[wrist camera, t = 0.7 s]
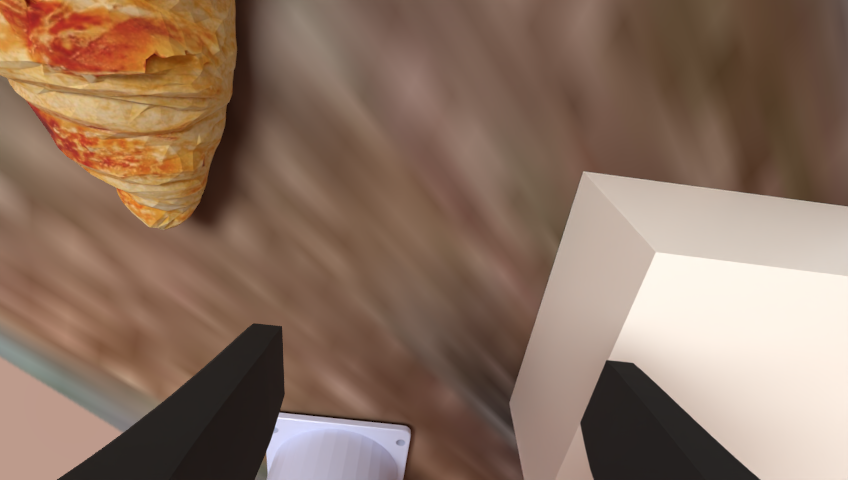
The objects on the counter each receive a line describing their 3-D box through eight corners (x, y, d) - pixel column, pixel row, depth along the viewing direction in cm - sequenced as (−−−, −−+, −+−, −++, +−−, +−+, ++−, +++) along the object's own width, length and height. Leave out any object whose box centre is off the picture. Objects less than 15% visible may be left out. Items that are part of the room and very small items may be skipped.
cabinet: (822, 440, 25) (939, 570, 19) (507, 407, 24) (531, 532, 18) (1005, 227, 18) (1262, 328, 13) (583, 171, 17) (656, 252, 12)
